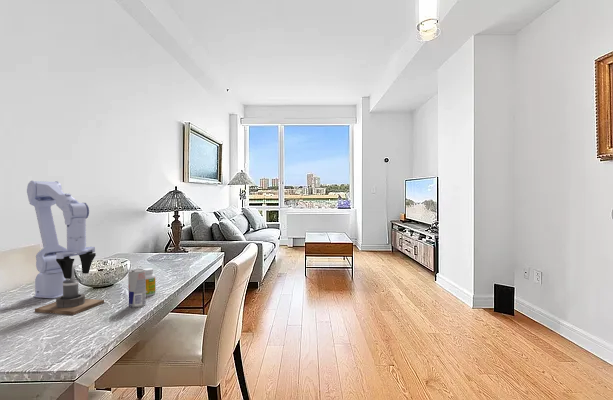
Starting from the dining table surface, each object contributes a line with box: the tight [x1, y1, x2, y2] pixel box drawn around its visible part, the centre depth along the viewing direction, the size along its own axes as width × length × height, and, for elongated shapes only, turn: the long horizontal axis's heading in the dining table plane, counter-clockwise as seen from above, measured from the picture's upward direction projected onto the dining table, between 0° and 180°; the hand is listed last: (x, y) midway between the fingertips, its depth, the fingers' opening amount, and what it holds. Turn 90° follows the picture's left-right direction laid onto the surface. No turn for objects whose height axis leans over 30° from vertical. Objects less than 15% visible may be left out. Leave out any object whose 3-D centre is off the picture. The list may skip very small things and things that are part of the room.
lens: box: [63, 278, 79, 300], centre depth 125 cm, size 4×4×8 cm
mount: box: [34, 293, 105, 316], centre depth 125 cm, size 15×13×4 cm
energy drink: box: [127, 268, 147, 309], centre depth 127 cm, size 5×5×12 cm
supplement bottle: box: [143, 267, 156, 297], centre depth 140 cm, size 5×5×10 cm
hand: (76, 275), depth 130 cm, fingers open, 7 cm apart
